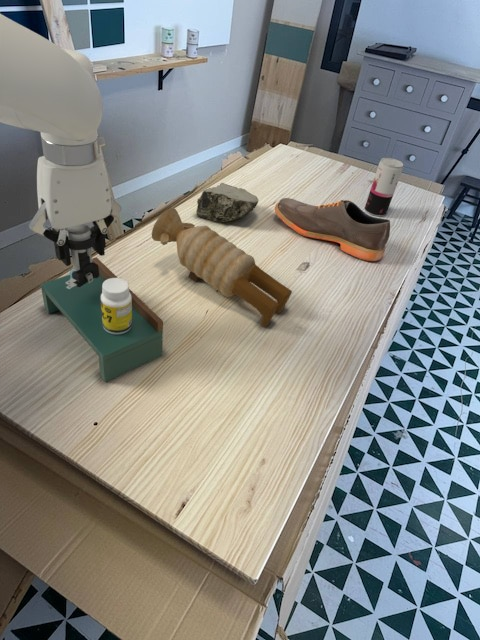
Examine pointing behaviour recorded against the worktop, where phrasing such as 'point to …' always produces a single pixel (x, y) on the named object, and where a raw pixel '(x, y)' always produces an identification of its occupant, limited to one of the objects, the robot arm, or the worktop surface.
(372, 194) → the beverage can
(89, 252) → the push button
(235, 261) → the toy animal figurine
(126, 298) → the supplement bottle
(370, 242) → the oxford shoe
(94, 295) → the shelf
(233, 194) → the concrete fragment
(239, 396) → the worktop surface
